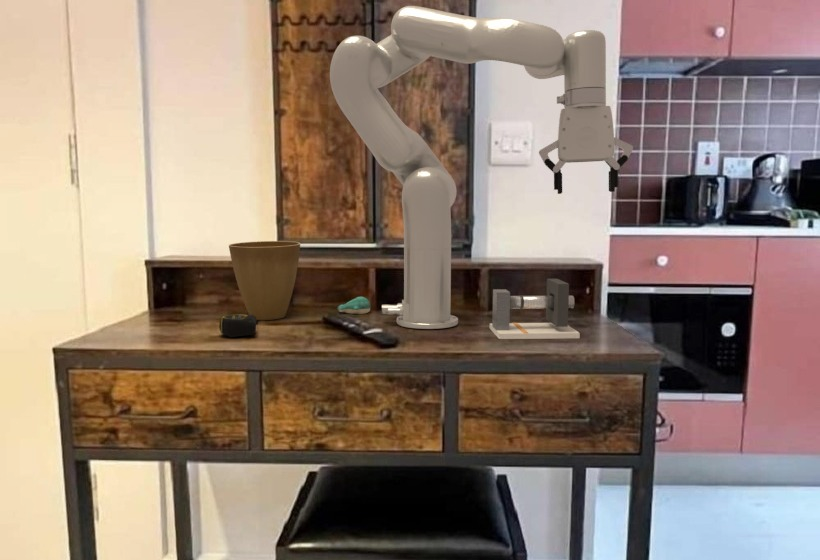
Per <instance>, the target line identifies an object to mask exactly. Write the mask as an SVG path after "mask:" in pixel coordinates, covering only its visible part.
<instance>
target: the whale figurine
mask: <svg viewBox="0 0 820 560" xmlns="http://www.w3.org/2000/svg"><path fill="white" fill-rule="evenodd" d="M337 311H338V312H339V313H346V314H354V315H364V314H368V313H369V312H370V311H371V303H370V301H369V300H368V298H366V297H364V296H357V297H355V298H353V299H351V300H349V301H347V302H346V303H344V304H340V305H339V306H337Z"/></svg>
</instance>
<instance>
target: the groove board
mask: <svg viewBox="0 0 820 560" xmlns="http://www.w3.org/2000/svg"><path fill="white" fill-rule="evenodd" d="M489 329H490V330H491V332H492V333H493V334H494V335H495V336H496V337H497V339H499V340H528V339H529V340H530V339H531V340H532V339H533V340H534V339H535V340H536V339H538V340H542V339H543V340H544V339H546V340H548V339H551V340H552V339H556V340H557V339H580V336H581V335H580V334H581V333H580V332H579V331H577V330H576V329H574V328H573V327H571V326H570V325H568V327H557V326H555V325H554V324H552V323H551V322H510V324H509V330H495V329H494V328H493V326H492V322H491V323H490V322H489Z"/></svg>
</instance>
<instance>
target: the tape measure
mask: <svg viewBox="0 0 820 560" xmlns="http://www.w3.org/2000/svg"><path fill="white" fill-rule="evenodd" d="M257 325H259V320H256V317H255V316H254V315H249V314H242V313H241V314H240V313H236V314H235V313H234V314H233V313H232V314H226V315H223V316H221V318H220V320H219V331H220V334H222V335H223V336H228V337H229V338H231V337H243V336H244V337H245V336H246V337H247V336H249V335H254V334H255V333H256V329H257Z"/></svg>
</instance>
